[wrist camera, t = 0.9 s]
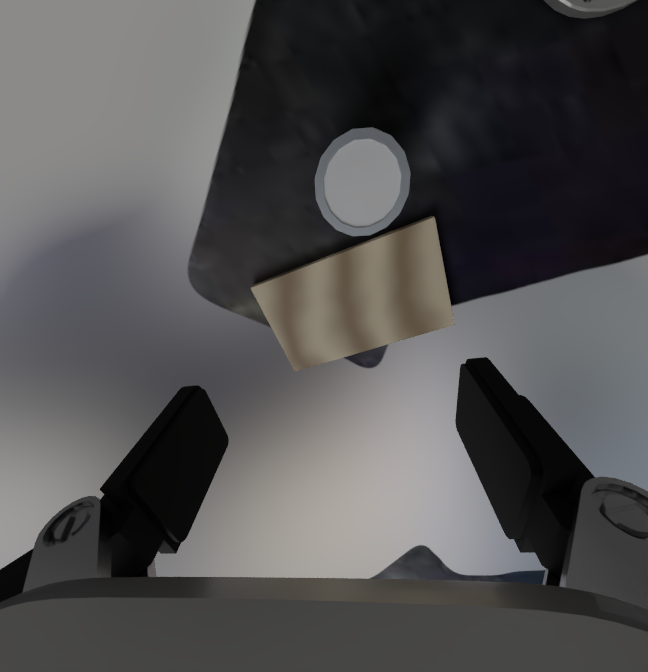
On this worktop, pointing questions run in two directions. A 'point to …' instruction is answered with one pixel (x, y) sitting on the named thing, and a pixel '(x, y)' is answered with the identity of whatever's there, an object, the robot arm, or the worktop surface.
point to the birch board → (359, 297)
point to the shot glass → (362, 181)
